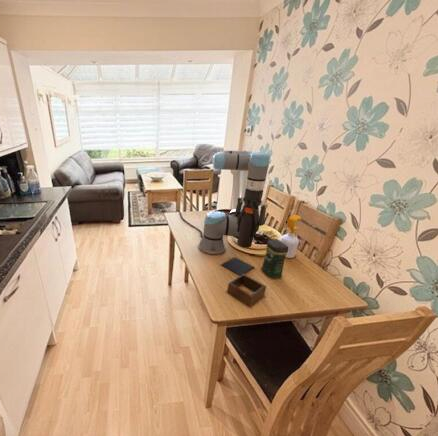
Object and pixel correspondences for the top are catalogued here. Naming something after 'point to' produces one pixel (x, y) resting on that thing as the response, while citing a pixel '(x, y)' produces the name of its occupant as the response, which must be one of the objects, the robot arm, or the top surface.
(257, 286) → the box
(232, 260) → the mat
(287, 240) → the soap bottle
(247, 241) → the vinegar
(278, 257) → the coffee jar
